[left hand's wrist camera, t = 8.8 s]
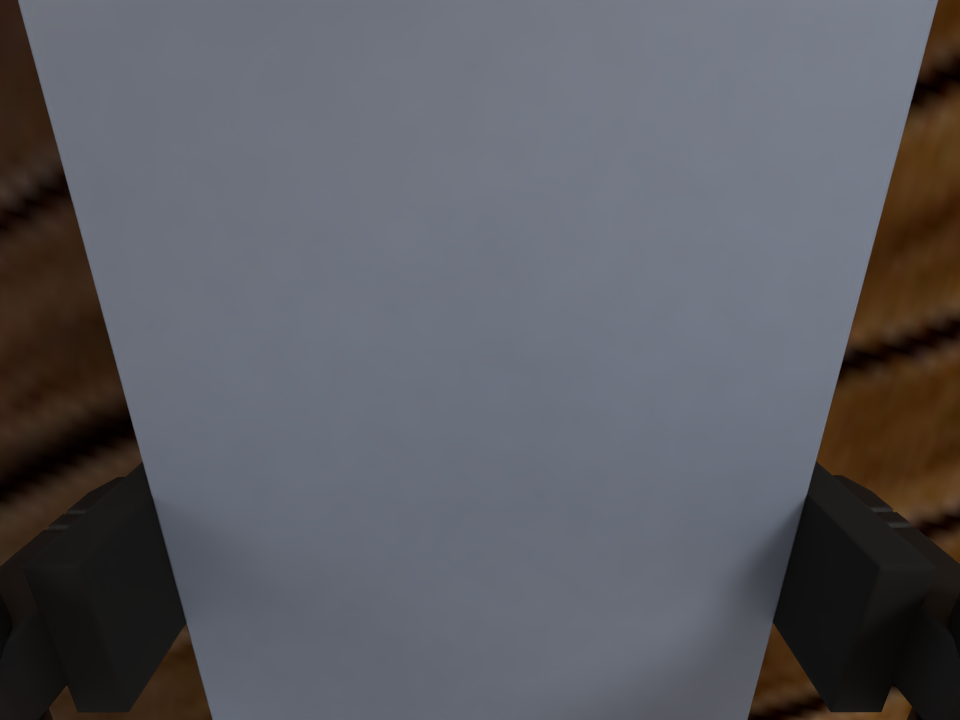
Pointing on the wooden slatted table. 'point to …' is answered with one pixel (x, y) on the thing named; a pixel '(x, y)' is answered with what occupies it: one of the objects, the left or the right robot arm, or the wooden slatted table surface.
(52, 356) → the wooden slatted table surface
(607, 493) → the cabinet
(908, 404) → the wooden slatted table surface
